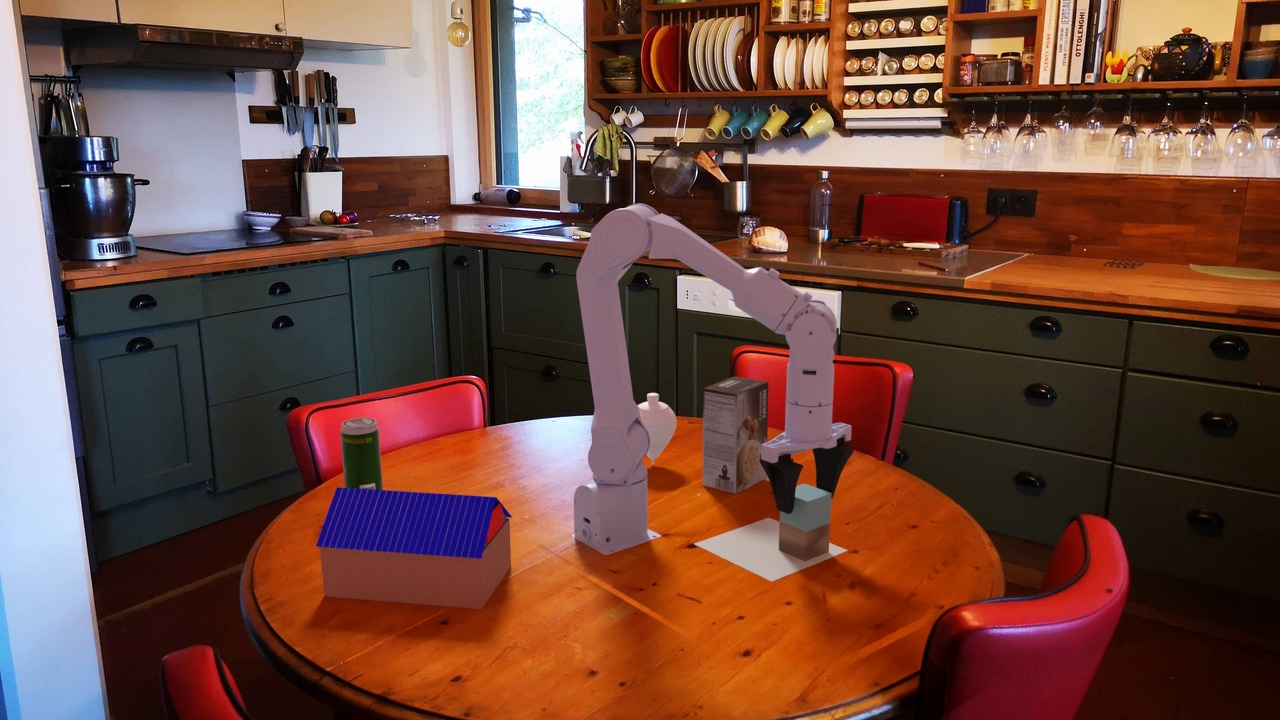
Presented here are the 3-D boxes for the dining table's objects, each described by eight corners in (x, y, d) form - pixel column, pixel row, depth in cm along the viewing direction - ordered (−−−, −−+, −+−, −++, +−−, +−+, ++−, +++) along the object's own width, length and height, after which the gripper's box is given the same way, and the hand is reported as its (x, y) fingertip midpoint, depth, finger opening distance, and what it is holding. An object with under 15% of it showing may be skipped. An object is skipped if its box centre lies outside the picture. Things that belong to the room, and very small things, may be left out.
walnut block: (804, 561, 121) (806, 531, 120) (778, 549, 124) (779, 520, 123) (828, 551, 124) (830, 522, 123) (802, 540, 127) (803, 512, 126)
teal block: (806, 531, 120) (807, 501, 119) (779, 521, 123) (780, 491, 122) (830, 522, 123) (831, 493, 122) (803, 512, 126) (804, 483, 125)
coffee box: (732, 472, 154) (734, 374, 151) (767, 480, 151) (770, 381, 147) (700, 488, 147) (702, 387, 144) (736, 498, 144) (738, 393, 140)
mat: (771, 586, 116) (771, 581, 116) (693, 548, 126) (693, 543, 126) (847, 554, 124) (847, 550, 124) (768, 521, 135) (768, 517, 135)
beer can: (389, 500, 143) (384, 423, 140) (354, 509, 140) (348, 430, 137) (374, 490, 147) (368, 415, 144) (340, 499, 144) (333, 421, 141)
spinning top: (622, 461, 160) (621, 391, 157) (663, 454, 163) (663, 385, 160) (641, 475, 153) (641, 402, 150) (684, 468, 156) (685, 396, 153)
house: (365, 556, 125) (358, 470, 122) (514, 567, 122) (511, 479, 119) (320, 599, 113) (312, 505, 111) (483, 612, 110) (479, 516, 107)
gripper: (793, 418, 112) (789, 528, 115) (872, 397, 121) (867, 499, 124) (749, 405, 117) (747, 510, 120) (829, 386, 126) (824, 484, 129)
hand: (805, 504), depth 122 cm, fingers open, 7 cm apart
